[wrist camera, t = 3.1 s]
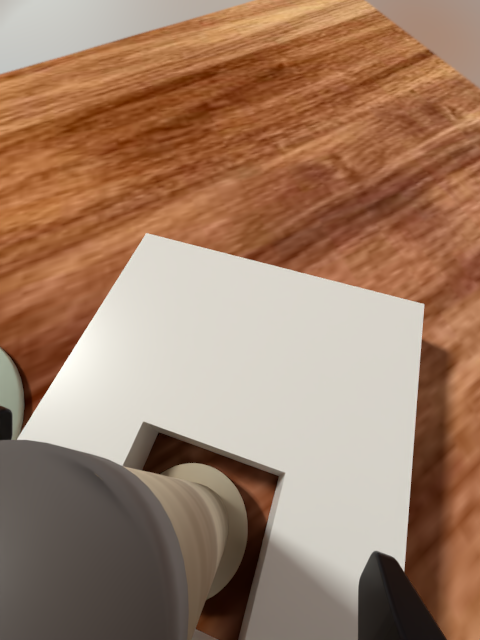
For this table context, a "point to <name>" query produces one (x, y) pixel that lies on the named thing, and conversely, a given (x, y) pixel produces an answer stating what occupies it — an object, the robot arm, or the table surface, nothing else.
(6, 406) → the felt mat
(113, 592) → the key peg
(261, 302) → the socket plate
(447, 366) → the table surface
